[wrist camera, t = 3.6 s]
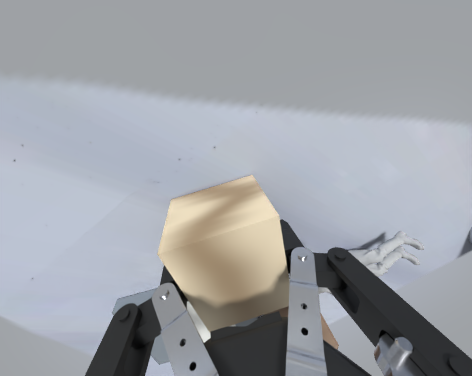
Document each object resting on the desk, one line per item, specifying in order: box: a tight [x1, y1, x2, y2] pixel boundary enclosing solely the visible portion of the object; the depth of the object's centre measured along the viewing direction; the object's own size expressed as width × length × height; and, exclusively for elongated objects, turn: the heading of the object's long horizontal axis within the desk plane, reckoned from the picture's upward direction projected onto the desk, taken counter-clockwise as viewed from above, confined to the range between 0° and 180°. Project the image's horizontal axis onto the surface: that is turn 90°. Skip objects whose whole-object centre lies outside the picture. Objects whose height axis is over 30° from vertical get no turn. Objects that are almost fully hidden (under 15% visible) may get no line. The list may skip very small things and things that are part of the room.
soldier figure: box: [289, 231, 424, 294], centre depth 18 cm, size 8×5×12 cm
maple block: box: [157, 175, 290, 332], centre depth 13 cm, size 6×8×5 cm
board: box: [112, 289, 258, 365], centre depth 19 cm, size 12×11×1 cm
